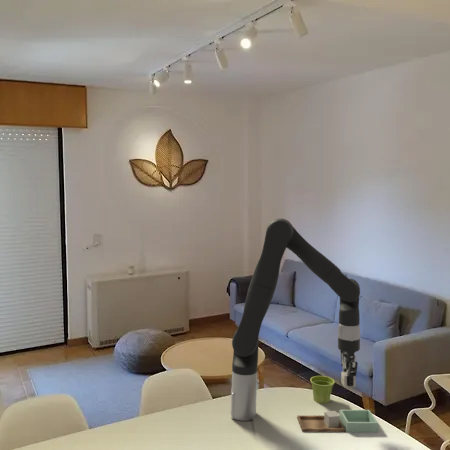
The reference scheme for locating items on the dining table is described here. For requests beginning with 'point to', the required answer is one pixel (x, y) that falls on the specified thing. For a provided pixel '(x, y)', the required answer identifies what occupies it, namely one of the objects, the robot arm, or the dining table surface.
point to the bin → (358, 421)
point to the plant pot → (322, 388)
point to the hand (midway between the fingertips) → (348, 383)
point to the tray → (317, 424)
